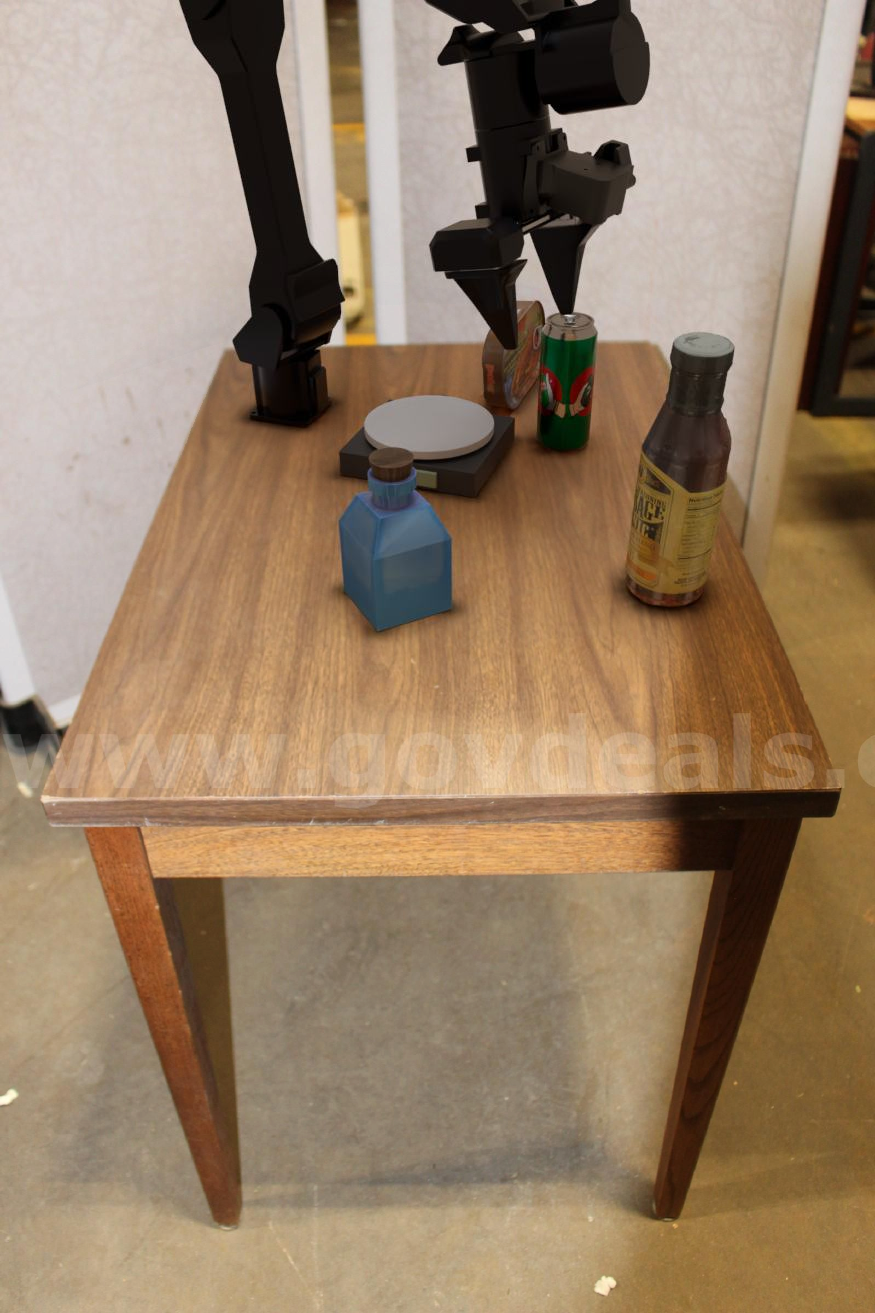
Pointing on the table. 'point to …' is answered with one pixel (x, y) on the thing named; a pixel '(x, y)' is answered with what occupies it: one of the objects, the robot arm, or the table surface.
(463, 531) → the table surface
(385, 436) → the scale
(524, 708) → the table surface
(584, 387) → the soda can
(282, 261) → the robot arm
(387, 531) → the perfume bottle
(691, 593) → the sauce bottle
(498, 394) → the tin
